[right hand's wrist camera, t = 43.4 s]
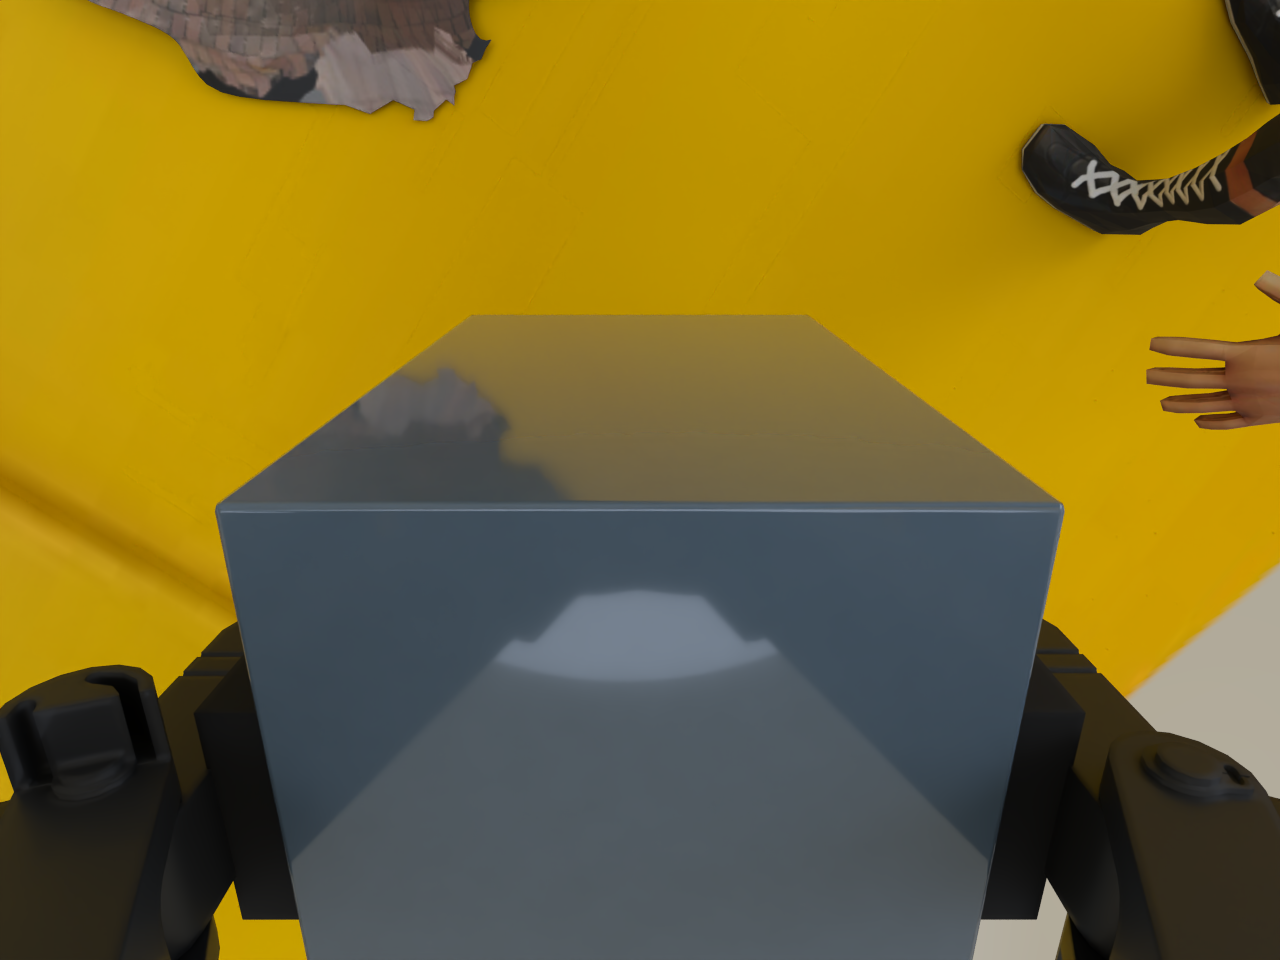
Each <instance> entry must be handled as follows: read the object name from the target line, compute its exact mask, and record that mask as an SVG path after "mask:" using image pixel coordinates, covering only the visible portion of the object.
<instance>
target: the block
mask: <svg viewBox="0 0 1280 960" xmlns="http://www.w3.org/2000/svg"><path fill="white" fill-rule="evenodd" d="M215 514H216V518H217V523H218V528H219V533H220V538H221V543H222V548H223V552H224V557H225V562H226V567H227V572H228V577H229V582H230V587H231V591H232V596H233V601H234V606H235V611H236V616H237V621H238V625H239V630H240V635H241V640H242V645H243V650H244V655H245V660H246V664H247V669H248V674H249V679H250V684H251V689H252V694H253V698H254V703H255V708H256V713H257V718H258V723H259V728H260V732H261V737H262V742H263V747H264V752H265V757H266V762H267V767H268V771H269V776H270V781H271V786H272V791H273V796H274V801H275V805H276V810H277V815H278V820H279V825H280V830H281V835H282V840H283V844H284V849H285V854H286V859H287V864H288V869H289V874H290V878H291V883H292V888H293V893H294V898H295V903H296V908H297V912H298V917H299V922H300V927H301V932H302V937H303V942H304V947H305V951H306V956H307V960H972V959H973V954H974V949H975V944H976V940H977V935H978V929H979V925H980V920H981V915H982V910H983V905H984V901H985V896H986V891H987V886H988V881H989V876H990V871H991V867H992V862H993V857H994V852H995V847H996V842H997V837H998V833H999V828H1000V823H1001V818H1002V813H1003V808H1004V803H1005V798H1006V794H1007V789H1008V784H1009V779H1010V774H1011V769H1012V764H1013V760H1014V755H1015V750H1016V745H1017V740H1018V735H1019V730H1020V725H1021V721H1022V716H1023V711H1024V706H1025V701H1026V696H1027V691H1028V687H1029V682H1030V677H1031V672H1032V667H1033V662H1034V657H1035V652H1036V648H1037V643H1038V638H1039V633H1040V628H1041V623H1042V618H1043V614H1044V609H1045V604H1046V599H1047V594H1048V589H1049V584H1050V579H1051V575H1052V570H1053V565H1054V560H1055V555H1056V550H1057V545H1058V541H1059V536H1060V531H1061V526H1062V521H1063V516H1064V506H1063V504H1062V503H1061V502H1060V501H1059V500H1057V499H1056V498H1055V497H1053V496H1052V495H1051V494H1049V493H1048V492H1047V491H1045V490H1044V489H1043V488H1041V487H1040V486H1038V485H1037V484H1036V483H1034V482H1033V481H1032V480H1030V479H1029V478H1028V477H1026V476H1025V475H1024V474H1022V473H1021V472H1020V471H1018V470H1017V469H1016V468H1014V467H1013V466H1011V465H1010V464H1009V463H1007V462H1006V461H1005V460H1003V459H1002V458H1001V457H999V456H998V455H997V454H995V453H994V452H993V451H991V450H990V449H988V448H987V447H986V446H984V445H983V444H982V443H980V442H979V441H978V440H976V439H975V438H974V437H972V436H971V435H970V434H968V433H967V432H965V431H964V430H963V429H961V428H960V427H959V426H957V425H956V424H955V423H953V422H952V421H951V420H949V419H948V418H947V417H945V416H944V415H942V414H941V413H940V412H938V411H937V410H936V409H934V408H933V407H932V406H930V405H929V404H928V403H926V402H925V401H924V400H922V399H921V398H919V397H918V396H917V395H915V394H914V393H913V392H911V391H910V390H909V389H907V388H906V387H905V386H903V385H902V384H901V383H899V382H898V381H897V380H895V379H894V378H892V377H891V376H890V375H888V374H887V373H886V372H884V371H883V370H882V369H880V368H879V367H878V366H876V365H875V364H874V363H872V362H871V361H869V360H868V359H867V358H865V357H864V356H863V355H861V354H860V353H859V352H857V351H856V350H855V349H853V348H852V347H851V346H849V345H848V344H846V343H845V342H844V341H842V340H841V339H840V338H838V337H837V336H836V335H834V334H833V333H832V332H830V331H829V330H828V329H826V328H825V327H823V326H822V325H821V324H819V323H818V322H817V321H815V320H814V319H813V318H811V317H810V316H808V315H471V316H469V317H468V318H467V319H465V320H464V321H463V322H461V323H460V324H459V325H457V326H456V327H454V328H453V329H452V330H450V331H449V332H448V333H446V334H445V335H444V336H442V337H441V338H440V339H438V340H437V341H436V342H434V343H433V344H432V345H430V346H429V347H427V348H426V349H425V350H423V351H422V352H421V353H419V354H418V355H417V356H415V357H414V358H413V359H411V360H410V361H409V362H407V363H406V364H405V365H403V366H402V367H400V368H399V369H398V370H396V371H395V372H394V373H392V374H391V375H390V376H388V377H387V378H386V379H384V380H383V381H382V382H380V383H379V384H378V385H376V386H375V387H373V388H372V389H371V390H369V391H368V392H367V393H365V394H364V395H363V396H361V397H360V398H359V399H357V400H356V401H355V402H353V403H352V404H351V405H349V406H348V407H346V408H345V409H344V410H342V411H341V412H340V413H338V414H337V415H336V416H334V417H333V418H332V419H330V420H329V421H328V422H326V423H325V424H324V425H322V426H321V427H319V428H318V429H317V430H315V431H314V432H313V433H311V434H310V435H309V436H307V437H306V438H305V439H303V440H302V441H301V442H299V443H298V444H297V445H295V446H294V447H293V448H291V449H290V450H288V451H287V452H286V453H284V454H283V455H282V456H280V457H279V458H278V459H276V460H275V461H274V462H272V463H271V464H270V465H268V466H267V467H266V468H264V469H263V470H261V471H260V472H259V473H257V474H256V475H255V476H253V477H252V478H251V479H249V480H248V481H247V482H245V483H244V484H243V485H241V486H240V487H239V488H237V489H236V490H234V491H233V492H232V493H230V494H229V495H228V496H226V497H225V498H224V499H222V500H221V501H220V502H218V503H217V505H216V510H215Z"/></svg>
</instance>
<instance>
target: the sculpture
mask: <svg viewBox="0 0 1280 960" xmlns="http://www.w3.org/2000/svg"><path fill="white" fill-rule="evenodd" d="M89 1H91V2H93V3H95V4H98V5H100V6H103V7H106V8H109V9H112V10H115V11H117V12H120V13H123V14H125V15H128V16H130V17H133V18H135V19H137V20H140V21H142V22H145V23H147V24H149V25H151V26H154V27H156V28H158V29H160V30H162V31H163V32H165V33H167V34H168V35H170V36H171V37H172V38H174V39H175V40H176V41H177V43H178V44H179V45H180V46H181V48H182V49H183V51H184V53H185V54H186V56H187V57H188V59H189V61H190V63H191V64H192V66H193V68H194V69H195V71H196V72H197V74H198V75H199V77H200V78H201V79H202V80H203V81H204V82H205V83H206V84H207V85H209V86H211V87H213V88H215V89H217V90H219V91H220V92H223V93H227V94H231V95H235V96H239V97H247V98H255V99H262V100H274V101H289V102H304V103H322V104H340V105H347V106H350V107H353V108H355V109H358V110H361V111H363V112H366V113H369V114H370V113H372V112H374V111H375V110H377V109H379V108H380V107H382V106H384V105H385V104H387V103H389V102H390V101H392V100H395V101H397V102H399V103H401V104H404V105H406V106H408V107H410V108H413V109H415V113H414V120H422V121H428V120H429V119H431V118H433V114H434V110H435V109H436V108H437V107H438V106H439V105H441V104H442V103H443V102H444V101H445V100H448V101H449V102H450V103H452V104H453V105H454V95H455V88H454V85H456V84H458V83H460V82H462V81H464V80H466V79H467V78H468V75H469V72H470V69H471V66H472V63H474V62H476V61H478V60H480V59H481V58H482V56H483V54H484V51H485V49H486V47H487V46H488V44H489V42H490V41H491V40H487V41H485V40H481V39H480V38H479V37H478V36H477V35H476V34H475V31H474V29H473V27H472V24H471V20H470V15H469V0H89Z"/></svg>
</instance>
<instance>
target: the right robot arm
mask: <svg viewBox="0 0 1280 960" xmlns="http://www.w3.org/2000/svg"><path fill="white" fill-rule="evenodd" d="M1096 669H1097V668H1096V667H1095V666H1094V665H1093V664H1092V663H1091V662H1090V661H1089V660H1088V659H1087V658H1086V657H1085V656H1084V655H1083V654H1079V650H1078V649H1077V648H1076V646H1075V645H1074V644H1073V643H1072V642H1071V641H1070V640H1069V639H1068V638H1067V637H1066V636H1065V635H1064V634H1063V633H1062V632H1061V631H1060V630H1059V629H1058V628H1057V627H1056V626H1054V625H1052V624H1051V623H1049V622H1047V621H1045V620H1044V619H1042V623H1041V628H1040V633H1039V638H1038V643H1037V648H1036V652H1035V657H1034V662H1033V667H1032V672H1031V677H1030V682H1029V687H1028V691H1027V696H1026V701H1025V706H1024V711H1023V716H1022V721H1021V725H1020V730H1019V735H1018V740H1017V745H1016V750H1015V755H1014V760H1013V764H1012V769H1011V774H1010V779H1009V784H1008V789H1007V794H1006V798H1005V803H1004V808H1003V813H1002V818H1001V823H1000V828H999V833H998V837H997V842H996V847H995V852H994V857H993V862H992V867H991V871H990V876H989V881H988V886H987V891H986V896H985V901H984V905H983V910H982V915H981V919H1037V916H1038V912H1039V908H1040V904H1041V899H1042V895H1043V891H1044V887H1045V882H1046V878H1047V879H1048V880H1049V882H1050V884H1051V886H1052V887H1053V889H1054V891H1055V892H1056V894H1057V896H1058V897H1059V899H1060V901H1061V902H1062V904H1063V906H1064V907H1065V909H1066V911H1067V916H1066V920H1065V924H1064V927H1063V932H1062V935H1061V939H1060V943H1059V947H1058V951H1057V955H1056V959H1055V960H1280V799H1278V798H1274V797H1270V796H1268V794H1267V792H1266V790H1265V789H1264V788H1263V787H1262V785H1261V784H1260V783H1259V782H1258V780H1257V779H1256V778H1255V777H1254V775H1253V774H1252V773H1251V772H1250V771H1248V770H1247V769H1246V768H1244V767H1243V766H1242V765H1240V764H1239V763H1237V762H1236V761H1235V760H1233V759H1232V758H1231V757H1229V756H1228V755H1226V754H1224V753H1222V752H1220V751H1218V750H1216V749H1213V748H1211V747H1209V746H1207V745H1205V744H1203V743H1201V742H1199V741H1196V740H1192V739H1189V738H1185V737H1182V736H1179V735H1175V734H1172V733H1166V732H1157V731H1156V730H1155V729H1154V728H1153V727H1152V726H1151V725H1150V724H1149V723H1148V722H1147V721H1146V720H1145V719H1144V718H1143V717H1142V716H1141V714H1140V713H1139V712H1138V711H1137V710H1136V709H1135V708H1134V707H1133V706H1132V705H1131V704H1130V703H1129V702H1128V701H1127V700H1126V699H1125V698H1124V697H1123V696H1122V695H1121V694H1120V692H1119V691H1118V690H1117V689H1116V688H1115V687H1114V686H1113V685H1112V684H1111V683H1110V682H1109V681H1108V680H1107V679H1106V678H1105V677H1104V676H1103V675H1102V674H1101V673H1097V671H1096ZM0 753H1V756H2V759H3V761H4V764H5V767H6V770H7V773H8V776H9V779H10V781H11V784H12V787H13V790H14V793H13V795H12V797H11V799H10V800H8V801H5V802H0V960H218V958H219V950H220V946H219V939H218V932H217V927H216V924H215V920H214V916H213V914H214V912H215V911H216V909H217V907H218V906H219V904H220V902H221V901H222V899H223V897H224V895H225V894H226V892H227V890H228V889H229V887H230V885H231V884H232V882H233V881H234V885H235V889H236V894H237V898H238V902H239V906H240V910H241V914H242V919H243V920H286V919H299V917H298V912H297V908H296V903H295V898H294V893H293V888H292V883H291V878H290V874H289V869H288V864H287V859H286V854H285V849H284V844H283V840H282V835H281V830H280V825H279V820H278V815H277V810H276V805H275V801H274V796H273V791H272V786H271V781H270V776H269V771H268V767H267V762H266V757H265V752H264V747H263V742H262V737H261V732H260V728H259V723H258V718H257V713H256V708H255V703H254V698H253V694H252V689H251V684H250V679H249V674H248V669H247V664H246V660H245V655H244V650H243V645H242V640H241V635H240V630H239V625H238V621H237V622H236V623H234V624H232V625H231V626H229V627H227V628H225V629H224V630H222V631H221V632H220V633H219V635H218V636H217V637H216V638H215V639H214V640H213V641H212V642H211V643H210V644H209V645H208V646H207V647H206V648H205V649H204V650H203V651H202V652H201V657H197V658H196V659H195V660H194V661H193V662H192V663H191V664H190V665H189V666H188V667H187V668H186V669H185V670H184V674H183V676H179V677H178V678H177V679H176V680H175V681H174V682H173V683H172V684H171V685H170V686H169V687H168V688H167V689H166V690H165V691H164V692H163V693H162V695H161V696H160V697H159V698H158V696H157V693H156V689H155V685H154V681H153V677H152V676H151V675H150V674H148V673H147V672H145V671H144V670H143V669H141V668H138V667H131V666H124V665H110V666H99V667H90V668H86V669H82V670H78V671H75V672H71V673H67V674H63V675H60V676H57V677H55V678H52V679H50V680H48V681H45V682H43V683H40V684H38V685H36V686H33V687H31V688H29V689H28V690H26V691H24V692H23V693H21V694H20V695H18V696H16V697H15V698H13V699H12V700H10V701H8V702H7V703H5V704H4V705H3V706H2V707H1V708H0Z"/></svg>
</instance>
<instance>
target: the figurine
mask: <svg viewBox="0 0 1280 960" xmlns="http://www.w3.org/2000/svg"><path fill="white" fill-rule="evenodd" d="M1225 3H1226V7H1227V11H1228V14H1229V18H1230V22H1231V24H1232V26H1233V28H1234V30H1235V32H1236V34H1237V36H1238V38H1239V40H1240V42H1241V44H1242V46H1243V47H1244V49H1245V51H1246V53H1247V55H1248V57H1249V59H1250V62H1251V65H1252V67H1253V70H1254V72H1255V75H1256V78H1257V80H1258V83H1259V85H1260V87H1261V90H1262V92H1263V94H1264V97H1265V99H1266V101H1267V103H1269V104H1270V105H1275V104H1280V0H1225ZM1022 170H1023V172H1024V174H1025V176H1026V178H1027V179H1028V181H1029V183H1030V185H1031V186H1032V188H1033V190H1034V192H1035V193H1036V194H1037V195H1038V196H1040V197H1041V198H1042V199H1043V200H1045V201H1046V202H1047V203H1048V204H1050V205H1051V206H1052V207H1053V208H1055V209H1057V210H1059V211H1060V212H1062V213H1064V214H1066V215H1067V216H1069V217H1071V218H1073V219H1074V220H1076V221H1078V222H1080V223H1082V224H1083V225H1085V226H1087V227H1089V228H1090V229H1092V230H1094V231H1096V232H1099V233H1101V234H1130V235H1141V234H1143V233H1144V232H1146V231H1148V230H1150V229H1151V228H1153V227H1156V226H1158V225H1160V224H1162V223H1164V222H1167V221H1173V220H1183V221H1190V222H1197V223H1204V224H1242V223H1244V222H1246V221H1248V220H1250V219H1252V218H1254V217H1256V216H1258V215H1259V214H1261V213H1263V212H1265V211H1267V210H1269V209H1271V208H1273V207H1275V206H1277V205H1279V204H1280V114H1278V115H1277V116H1276V117H1274V118H1273V119H1271V120H1270V121H1268V122H1267V123H1266V124H1264V125H1263V126H1262V127H1261V128H1259V129H1258V130H1257V131H1256V132H1254V133H1253V134H1252V135H1251V136H1249V137H1248V138H1247V139H1245V140H1243V141H1242V142H1240V143H1239V144H1237V145H1235V146H1234V147H1232V148H1231V149H1229V150H1228V151H1226V152H1224V153H1223V154H1221V155H1219V156H1217V157H1215V158H1213V159H1211V160H1210V161H1208V162H1206V163H1204V164H1202V165H1200V166H1198V167H1196V168H1194V169H1192V170H1189V171H1186V172H1184V173H1181V174H1179V175H1176V176H1174V177H1171V178H1168V179H1159V180H1140V181H1137V180H1135V179H1134V178H1133V177H1132V176H1130V175H1129V174H1128V173H1126V172H1125V171H1123V170H1121V169H1119V168H1117V167H1114V166H1112V165H1110V163H1109V162H1108V161H1107V160H1106V159H1105V157H1104V156H1103V155H1102V154H1101V153H1100V151H1099V150H1098V149H1097V148H1096V147H1095V145H1093V144H1092V143H1090V142H1089V141H1087V140H1086V139H1085V138H1083V137H1082V136H1080V135H1079V134H1077V133H1076V132H1074V131H1073V130H1072V129H1070V128H1069V127H1067V126H1066V125H1059V124H1042V125H1040V126H1039V128H1038V129H1037V130H1036V132H1035V133H1034V134H1033V136H1032V137H1031V138H1030V140H1029V141H1028V142H1027V144H1026V145H1025V146H1024V148H1023V149H1022ZM1254 285H1255V286H1256V287H1257V288H1258V289H1259V290H1260V291H1262V292H1263V293H1264V294H1266V295H1267V296H1268V297H1270V298H1271V299H1272V300H1274V301H1276V302H1277V303H1279V304H1280V276H1278V275H1276V274H1274V273H1271V272H1269V271H1266V272H1265V273H1264V274H1263V275H1262V276H1261V277H1260V278H1259V280H1258V281H1257V282H1256V283H1255V284H1254ZM1150 350H1152V351H1155V352H1159V353H1162V354H1166V355H1171V356H1180V357H1190V358H1201V359H1212V360H1222V361H1225V367H1224V368H1199V369H1193V368H1151V369H1147V370H1146V371H1147V384H1154V385H1162V386H1170V387H1180V388H1211V389H1227V390H1226V391H1220V392H1214V393H1206V394H1191V395H1178V396H1169V397H1167V398H1165V399H1163V400H1161V401H1160V402H1161V405H1162V408H1163V411H1168V412H1174V413H1207V412H1220V411H1236V412H1235V413H1230V414H1211V415H1200V416H1199V417H1197V418H1196V419H1195V420H1194V421H1195V422H1196V424H1197V425H1198V426H1199V428H1204V429H1213V430H1227V429H1234V428H1241V427H1247V426H1254V425H1263V424H1271V423H1280V334H1279V335H1278V336H1274V337H1269V338H1265V339H1259V340H1251V341H1244V342H1227V341H1219V340H1209V339H1198V338H1186V337H1155V338H1152V339H1151V344H1150Z"/></svg>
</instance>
